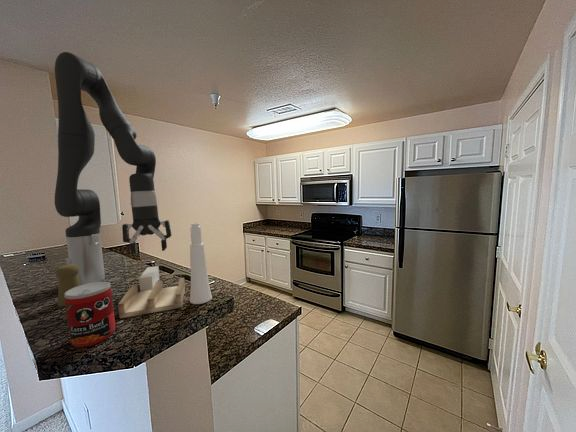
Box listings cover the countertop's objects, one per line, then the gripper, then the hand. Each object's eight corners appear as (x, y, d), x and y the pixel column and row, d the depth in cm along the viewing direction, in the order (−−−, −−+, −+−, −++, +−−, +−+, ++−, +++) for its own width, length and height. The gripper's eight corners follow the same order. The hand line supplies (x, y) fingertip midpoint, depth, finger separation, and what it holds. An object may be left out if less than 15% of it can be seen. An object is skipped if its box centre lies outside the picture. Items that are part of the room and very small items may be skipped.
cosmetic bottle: (201, 293, 74) (196, 221, 72) (216, 297, 71) (211, 222, 69) (185, 302, 69) (178, 224, 67) (200, 306, 66) (193, 225, 64)
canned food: (64, 352, 48) (56, 299, 47) (79, 331, 55) (73, 285, 54) (110, 341, 51) (104, 291, 50) (119, 323, 58) (114, 279, 57)
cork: (83, 295, 76) (79, 260, 75) (86, 301, 72) (81, 264, 71) (57, 302, 72) (52, 265, 71) (58, 308, 68) (52, 269, 67)
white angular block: (140, 293, 76) (139, 278, 76) (148, 280, 88) (147, 267, 87) (153, 291, 78) (151, 276, 77) (159, 279, 89) (158, 266, 88)
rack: (119, 318, 61) (118, 304, 60) (133, 296, 74) (132, 284, 74) (182, 307, 66) (180, 294, 65) (185, 288, 79) (184, 277, 78)
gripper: (169, 203, 88) (173, 247, 90) (123, 206, 84) (129, 252, 85) (166, 203, 81) (171, 251, 83) (116, 207, 77) (122, 257, 78)
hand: (149, 252), depth 84 cm, fingers open, 8 cm apart
